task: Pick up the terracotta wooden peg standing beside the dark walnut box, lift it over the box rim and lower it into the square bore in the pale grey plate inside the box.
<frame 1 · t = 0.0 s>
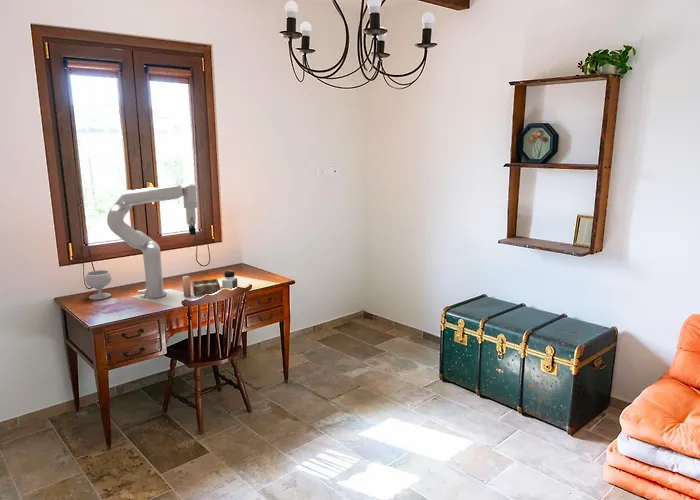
hand: (192, 233, 306), 37 cm above the table, tool pointing down, fingers open, 9 cm apart
bore box: (206, 292, 312), on the table
peg: (187, 296, 304), on the table
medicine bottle: (230, 290, 317), on the table
chalice: (100, 297, 303), on the table
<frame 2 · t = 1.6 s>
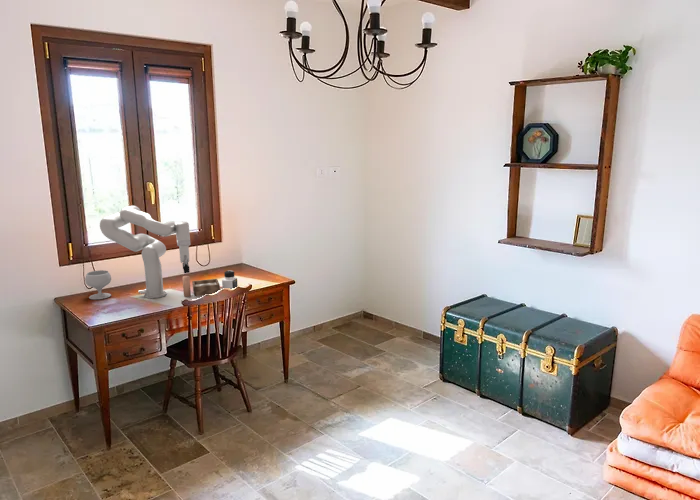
hand: (186, 270, 301), 16 cm above the table, tool pointing down, fingers open, 9 cm apart
nothing on the table moved.
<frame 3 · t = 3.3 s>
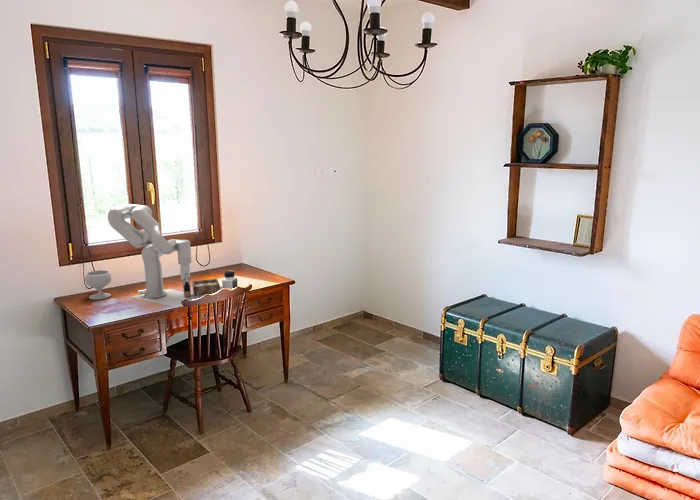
hand: (186, 289, 304), 4 cm above the table, tool pointing down, fingers closed on peg, 4 cm apart
peg: (187, 295, 304), on the table, touching gripper
everything else where it was.
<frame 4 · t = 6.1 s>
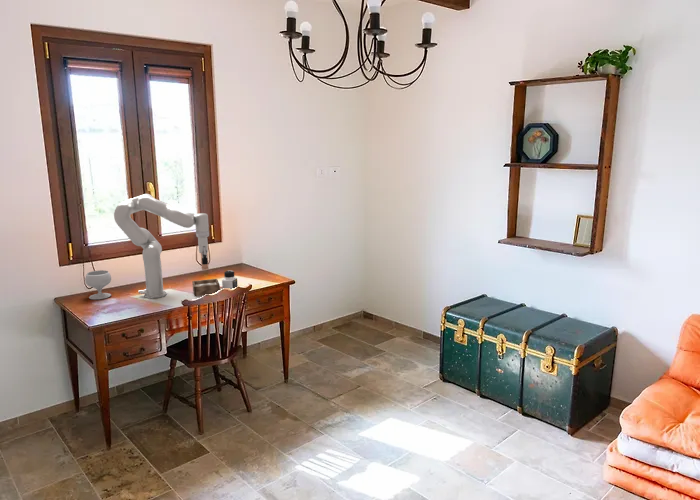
hand: (204, 263, 308), 19 cm above the table, tool pointing down, fingers closed on peg, 4 cm apart
peg: (205, 269, 309), point 15 cm above the table, touching gripper
everything else where it was.
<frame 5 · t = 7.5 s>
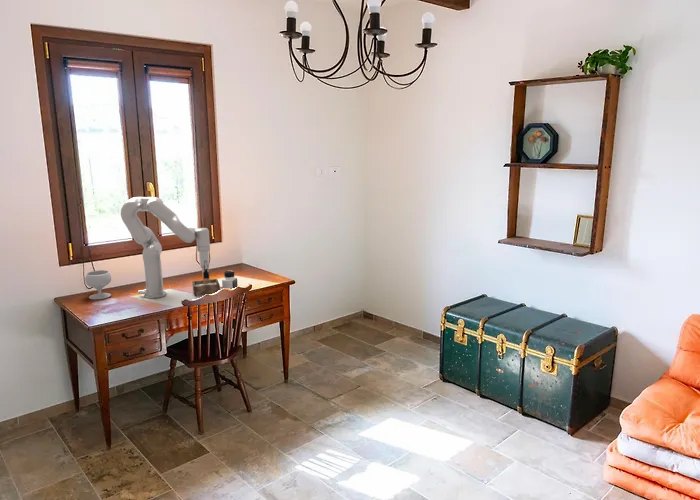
hand: (206, 277, 310), 10 cm above the table, tool pointing down, fingers closed on peg, 4 cm apart
peg: (206, 283, 311), point 6 cm above the table, touching gripper
everything else where it was.
when the fingers open (5 cm above the table, at t = 8.8 s): peg stays where it is, resting in bore box.
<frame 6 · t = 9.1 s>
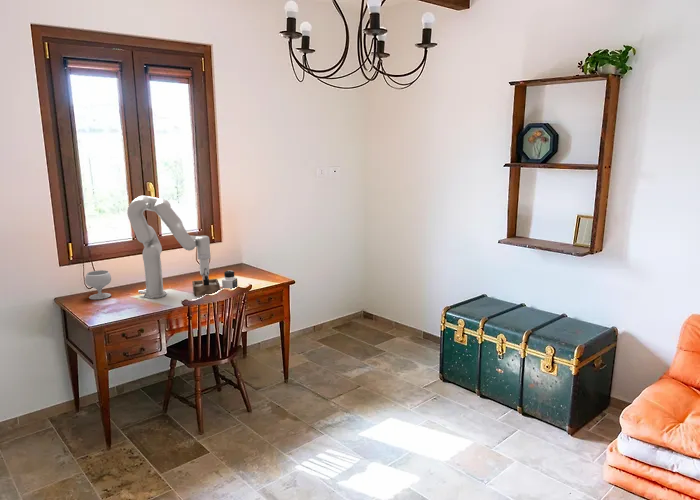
hand: (205, 283, 311), 5 cm above the table, tool pointing down, fingers open, 7 cm apart
peg: (206, 292, 312), resting in bore box
everything else where it was.
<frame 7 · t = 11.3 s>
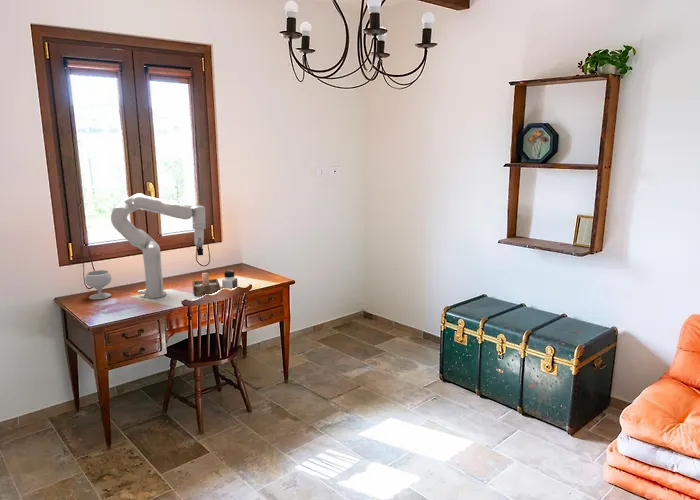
hand: (199, 253, 310), 24 cm above the table, tool pointing down, fingers open, 9 cm apart
nothing on the table moved.
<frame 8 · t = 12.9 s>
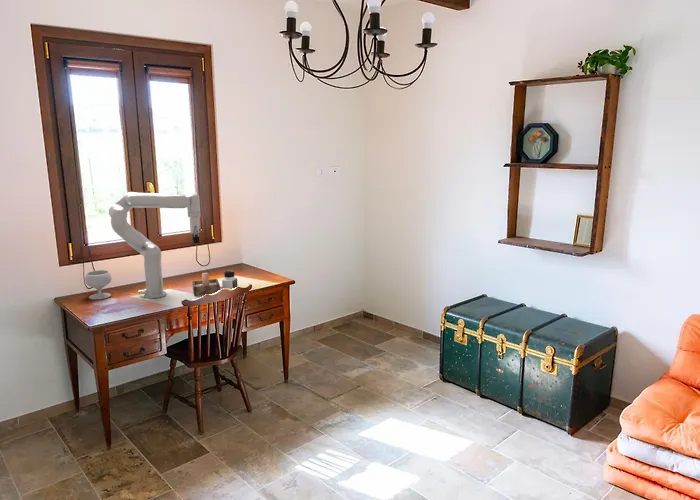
hand: (196, 241, 314), 30 cm above the table, tool pointing down, fingers open, 9 cm apart
nothing on the table moved.
at the end: peg 0.0 cm off-centre on the bore box, point 0.0 cm above the bore box's base; peg tilted 0°; the gripper is holding nothing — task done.
